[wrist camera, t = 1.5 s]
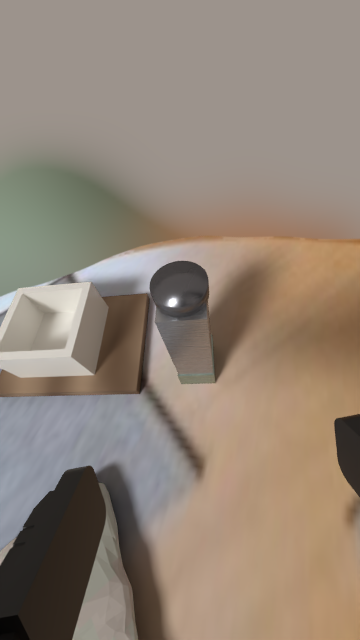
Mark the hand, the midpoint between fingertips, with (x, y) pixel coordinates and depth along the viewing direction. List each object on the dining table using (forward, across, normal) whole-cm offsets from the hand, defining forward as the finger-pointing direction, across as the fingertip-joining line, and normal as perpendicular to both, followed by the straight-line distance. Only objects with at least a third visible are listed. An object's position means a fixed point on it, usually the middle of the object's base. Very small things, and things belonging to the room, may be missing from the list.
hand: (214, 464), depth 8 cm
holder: (+21, +14, -1) cm, 25 cm away
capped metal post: (+18, 0, +4) cm, 18 cm away
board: (+22, +13, 0) cm, 25 cm away
